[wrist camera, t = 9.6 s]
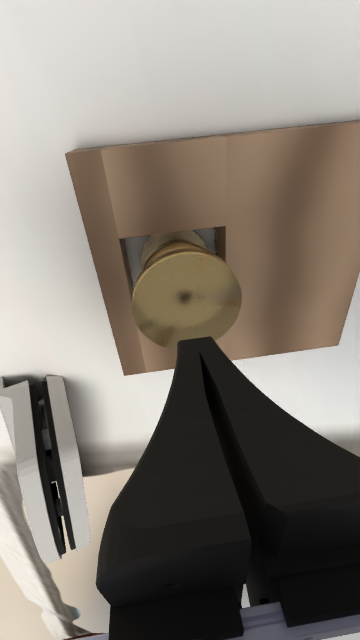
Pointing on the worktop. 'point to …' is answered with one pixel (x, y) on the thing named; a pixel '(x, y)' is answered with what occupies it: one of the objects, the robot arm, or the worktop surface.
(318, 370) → the worktop surface
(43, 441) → the grey piece
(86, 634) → the bucket
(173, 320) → the bushing
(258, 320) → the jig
